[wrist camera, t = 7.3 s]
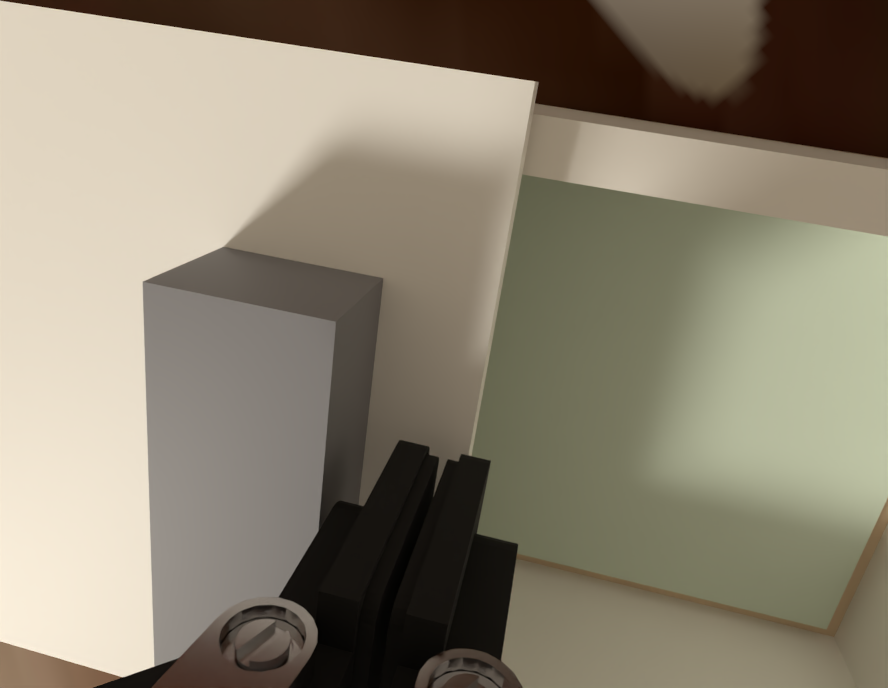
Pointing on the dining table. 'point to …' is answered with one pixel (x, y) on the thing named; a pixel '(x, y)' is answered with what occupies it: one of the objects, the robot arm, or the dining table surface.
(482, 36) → the dining table surface
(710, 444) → the base
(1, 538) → the lid
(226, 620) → the robot arm
